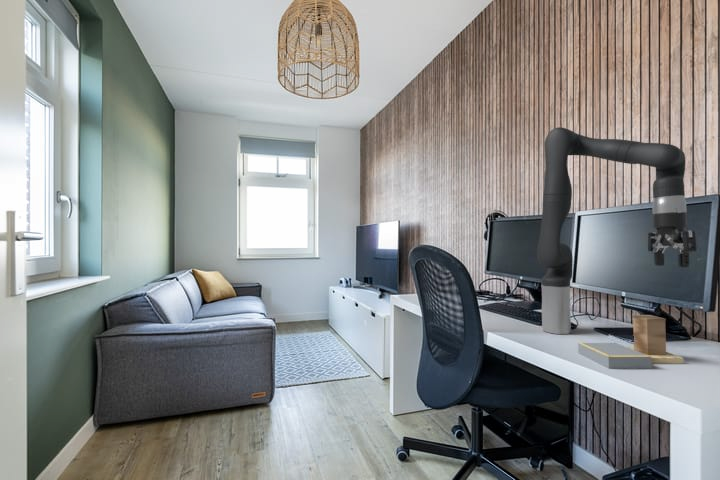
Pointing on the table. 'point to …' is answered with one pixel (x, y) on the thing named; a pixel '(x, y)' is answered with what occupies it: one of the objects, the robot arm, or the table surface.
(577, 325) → the table surface
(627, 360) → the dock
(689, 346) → the table surface
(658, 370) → the table surface
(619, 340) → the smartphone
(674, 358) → the pallet
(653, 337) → the wooden block
